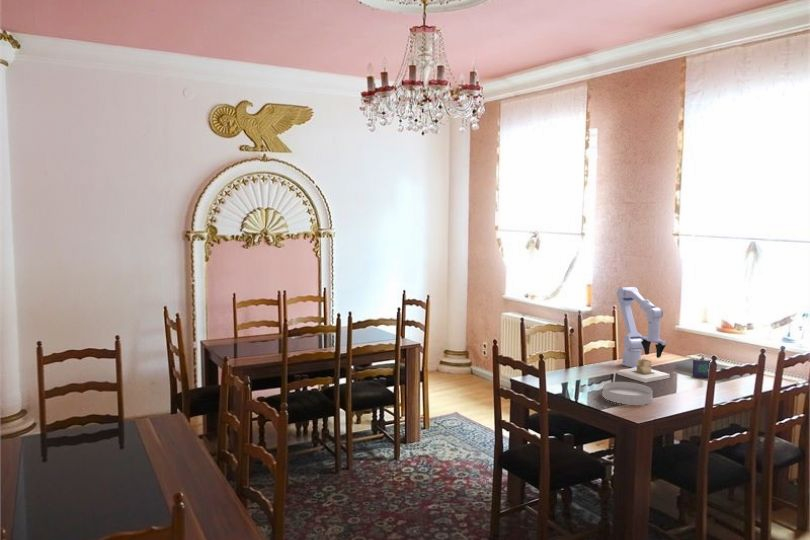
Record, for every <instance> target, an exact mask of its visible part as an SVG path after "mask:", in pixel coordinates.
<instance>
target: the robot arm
mask: <svg viewBox="0 0 810 540" xmlns="http://www.w3.org/2000/svg"><path fill="white" fill-rule="evenodd" d="M616 297H617V300H618V303H619V306H620V311H621V315H622V317H623V321H624V326H625V330H626V334H625V335H624V337H623V341H624V342H623V344H624V345H623V346H624V348H625V349H624V350H623V352H622V359H621V360H622V361H621V362H622V363H620V365H622V366H625V367H630V368H636V367H637V360H641V359H642V351H644V355H650V348H651V343H655V344H654V345H655V350H656V354H655V355H656V358H658V359H659V358H661V357H662V354H663V351H664V350H665V348H666V344H667V341H666V340H663V339H661V338H660V333H661V329H660V328H661V319H662V318H663V316H664V311H663V308H661V307H659V306H656V305H654V304H653V303H652V302H651V301H650V299H645V298H644V297H643V296H642V295H641V294H640V292H639V289H638V288H637V287H636V286H626V287H625V286H624V287H623V286H620V287H618V289H617V291H616ZM634 301H635V302H637V303H638V304H639V307H640V309H641V310H642V311H643V312H644V313H645V314H646V318H647V319H646V321H647V324H648V325H647V336H645V335H642V334H641V333H640V332H638V330H637V326H636V322H635V319H634V315H633V311H632V307H631V304H632V303H634Z"/></svg>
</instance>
